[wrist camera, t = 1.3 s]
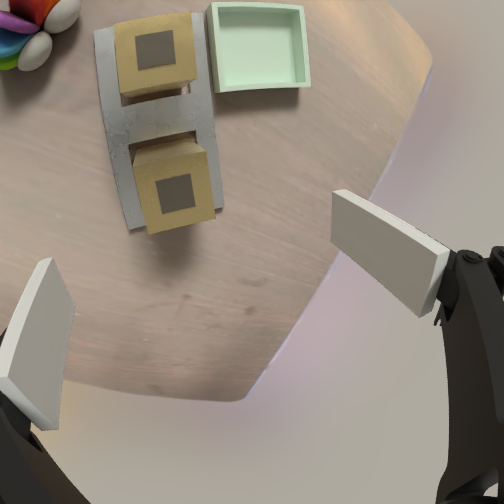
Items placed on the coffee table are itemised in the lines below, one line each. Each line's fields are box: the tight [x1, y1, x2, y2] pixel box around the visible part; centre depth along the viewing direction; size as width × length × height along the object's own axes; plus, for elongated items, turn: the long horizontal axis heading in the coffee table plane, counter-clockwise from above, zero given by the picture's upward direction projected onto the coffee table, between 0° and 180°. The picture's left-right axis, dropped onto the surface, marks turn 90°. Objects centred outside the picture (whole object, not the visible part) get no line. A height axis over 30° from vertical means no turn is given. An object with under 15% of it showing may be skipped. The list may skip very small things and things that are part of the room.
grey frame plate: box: [94, 12, 225, 230], centre depth 24 cm, size 10×20×1 cm, turn 5°
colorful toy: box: [0, 0, 81, 71], centre depth 12 cm, size 8×10×7 cm
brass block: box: [133, 138, 216, 235], centre depth 23 cm, size 5×5×9 cm
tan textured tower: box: [114, 12, 198, 98], centre depth 18 cm, size 5×5×9 cm
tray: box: [206, 2, 311, 93], centre depth 23 cm, size 9×9×2 cm
